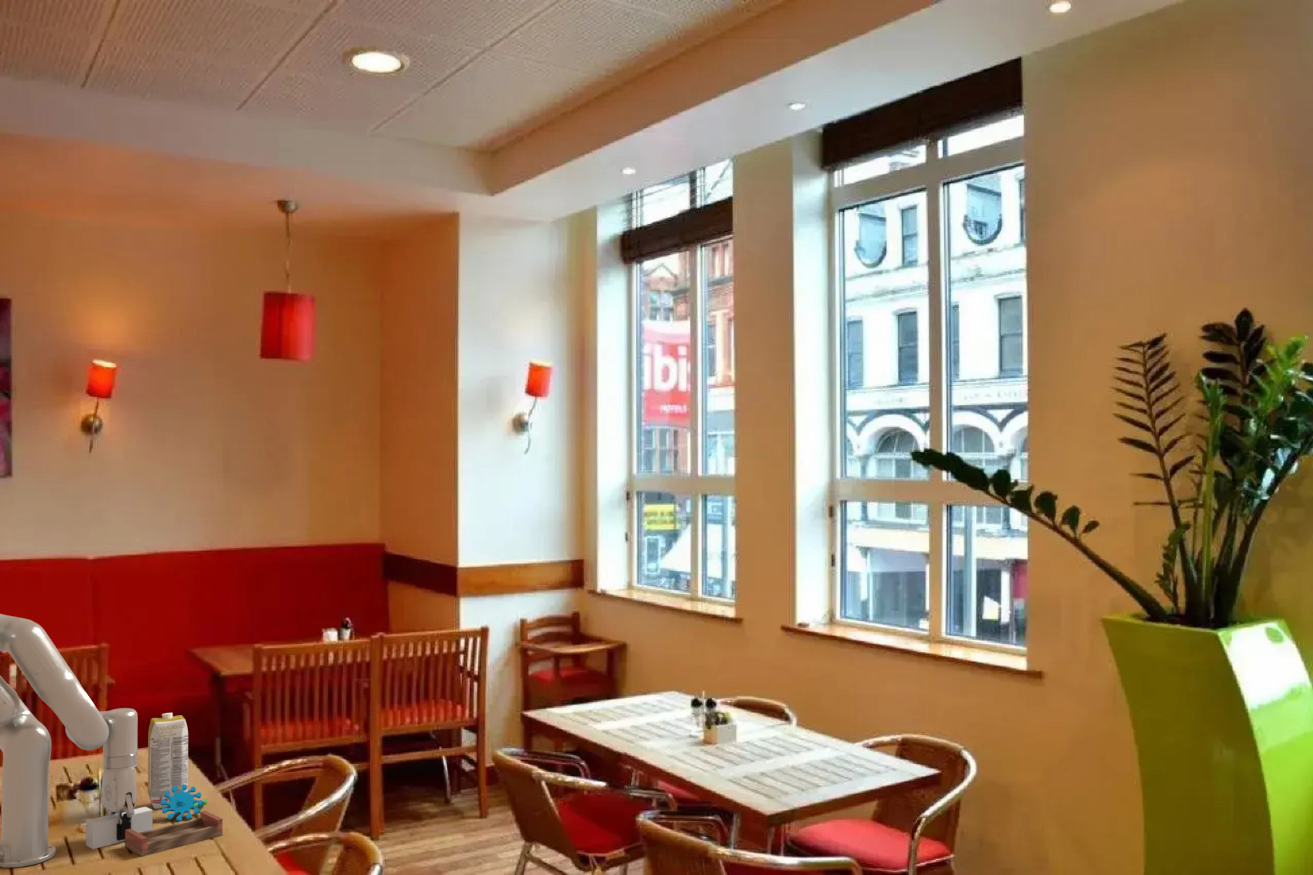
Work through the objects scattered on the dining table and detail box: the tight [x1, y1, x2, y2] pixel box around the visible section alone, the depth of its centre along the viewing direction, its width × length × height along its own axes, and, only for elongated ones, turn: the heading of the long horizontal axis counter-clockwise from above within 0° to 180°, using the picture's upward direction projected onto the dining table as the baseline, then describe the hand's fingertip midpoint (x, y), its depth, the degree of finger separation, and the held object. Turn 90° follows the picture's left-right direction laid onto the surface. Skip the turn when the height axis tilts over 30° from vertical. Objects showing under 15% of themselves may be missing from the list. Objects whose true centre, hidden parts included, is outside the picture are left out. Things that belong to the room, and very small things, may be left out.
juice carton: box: [147, 712, 189, 810], centre depth 295 cm, size 9×8×24 cm
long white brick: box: [85, 806, 154, 850], centre depth 268 cm, size 14×4×6 cm, turn 138°
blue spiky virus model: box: [161, 784, 208, 822], centre depth 286 cm, size 11×6×10 cm
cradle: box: [124, 810, 224, 857], centre depth 267 cm, size 19×9×4 cm, turn 138°
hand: (119, 836), depth 268 cm, fingers closed on long white brick, 4 cm apart
